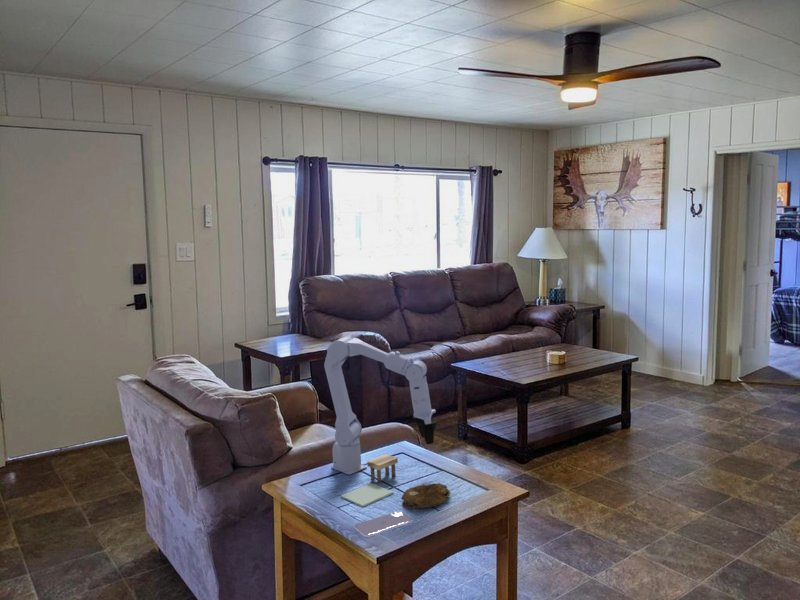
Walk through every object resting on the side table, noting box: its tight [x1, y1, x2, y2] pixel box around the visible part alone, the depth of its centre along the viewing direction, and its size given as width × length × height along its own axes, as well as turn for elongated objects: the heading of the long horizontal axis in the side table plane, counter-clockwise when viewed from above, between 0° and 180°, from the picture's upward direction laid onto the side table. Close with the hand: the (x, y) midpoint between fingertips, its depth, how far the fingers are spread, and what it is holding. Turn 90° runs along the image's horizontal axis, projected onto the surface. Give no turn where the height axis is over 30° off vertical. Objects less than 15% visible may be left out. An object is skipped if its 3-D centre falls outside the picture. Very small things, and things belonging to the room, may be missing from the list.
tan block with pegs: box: [366, 453, 399, 484], centre depth 196 cm, size 5×8×6 cm
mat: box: [340, 482, 394, 508], centre depth 184 cm, size 10×12×1 cm
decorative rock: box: [401, 482, 452, 510], centre depth 179 cm, size 11×4×15 cm
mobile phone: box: [353, 510, 414, 538], centre depth 166 cm, size 8×1×15 cm
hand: (427, 440), depth 197 cm, fingers open, 7 cm apart
